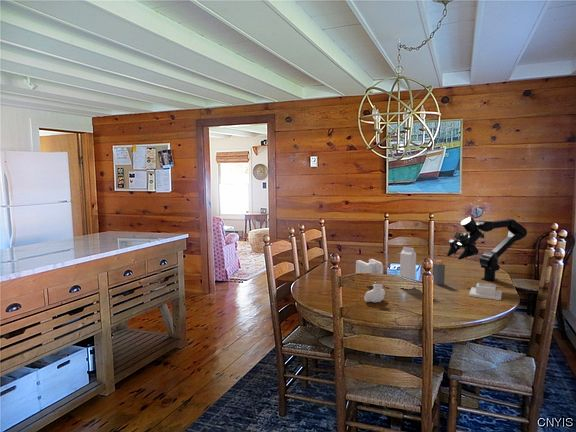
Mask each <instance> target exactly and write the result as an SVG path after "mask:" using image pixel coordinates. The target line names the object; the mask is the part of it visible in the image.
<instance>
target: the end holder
mask: <svg viewBox="0 0 576 432" xmlns="http://www.w3.org/2000/svg"><path fill="white" fill-rule="evenodd" d="M496 288H497V284H495V283H486V282H477V283H476V286H475V287H474V286H471V288H470V291H469V293H468V297H471V298H472V297H473V298H481V299H488V300H496V301H501V300H502V295H503V291H502V289H496Z"/></svg>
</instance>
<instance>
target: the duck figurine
mask: <svg viewBox="0 0 576 432" xmlns="http://www.w3.org/2000/svg"><path fill="white" fill-rule="evenodd" d="M383 285H384V284H383ZM383 285H382V284H373V285H372V287H373V288H372V289H371V290H368V291H366V293H365V294H364V301H365V303H366V302H369V303H377V302H378V303H381V302H382V301H383V300H384V297H385V295H386V291H385V289H384V288H383V287H384V286H383Z"/></svg>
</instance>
